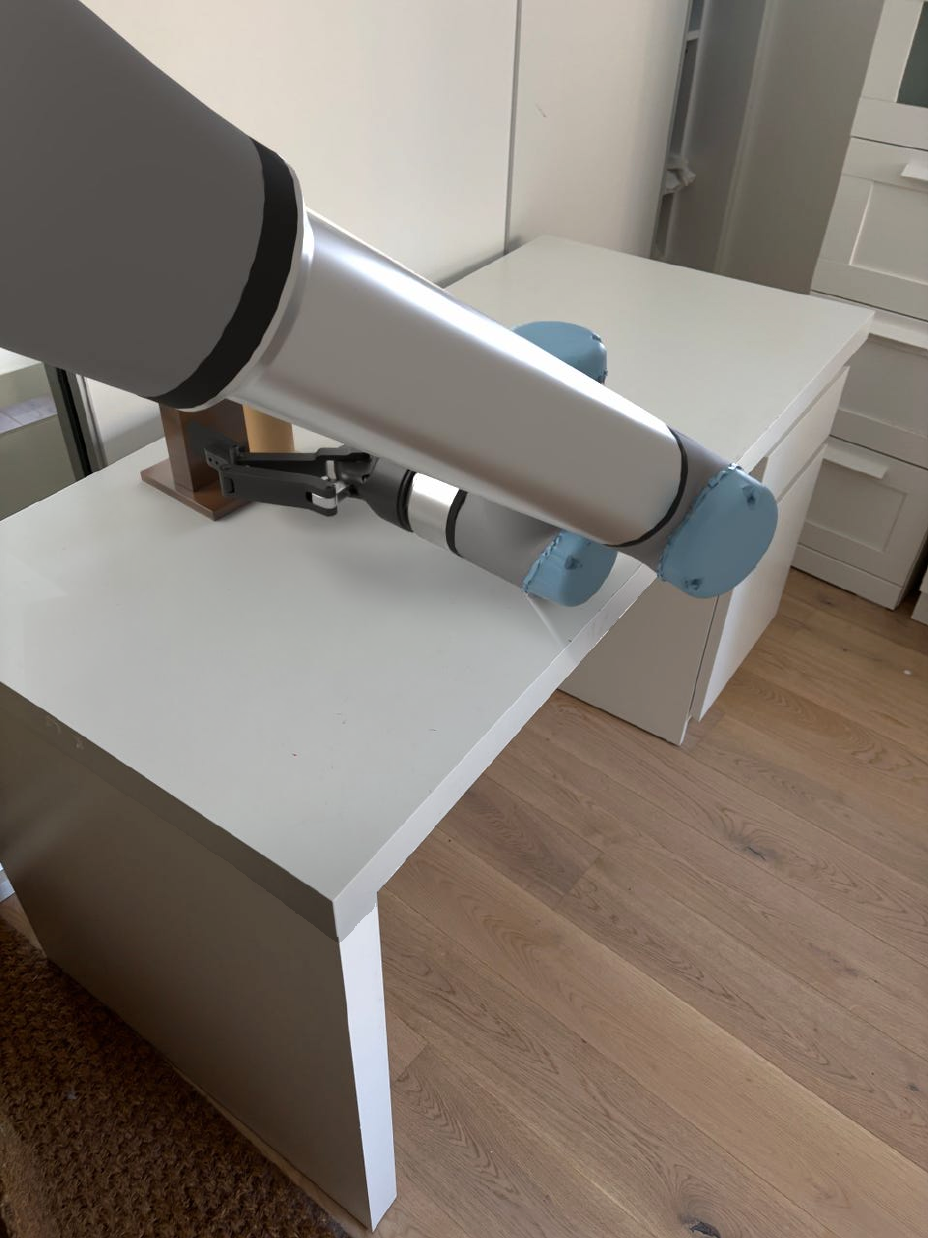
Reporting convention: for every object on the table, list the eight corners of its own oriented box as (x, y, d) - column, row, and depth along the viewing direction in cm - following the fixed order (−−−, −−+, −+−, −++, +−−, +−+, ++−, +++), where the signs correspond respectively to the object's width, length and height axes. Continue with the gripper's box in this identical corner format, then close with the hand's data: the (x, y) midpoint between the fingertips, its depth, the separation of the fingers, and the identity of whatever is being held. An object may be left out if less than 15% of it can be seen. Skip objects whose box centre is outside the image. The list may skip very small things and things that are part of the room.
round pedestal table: (236, 508, 85) (208, 354, 76) (219, 460, 91) (192, 313, 83) (335, 488, 87) (320, 337, 78) (312, 444, 94) (295, 299, 85)
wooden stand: (346, 497, 93) (334, 328, 83) (259, 547, 87) (234, 370, 76) (228, 438, 102) (204, 278, 91) (141, 480, 95) (103, 312, 84)
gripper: (323, 603, 71) (145, 500, 81) (524, 470, 86) (353, 397, 96) (315, 518, 66) (127, 420, 76) (530, 392, 81) (348, 324, 91)
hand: (252, 407), depth 86 cm, fingers open, 13 cm apart
